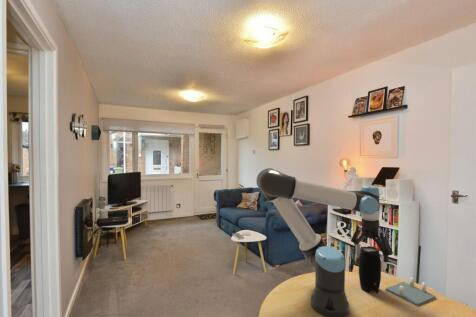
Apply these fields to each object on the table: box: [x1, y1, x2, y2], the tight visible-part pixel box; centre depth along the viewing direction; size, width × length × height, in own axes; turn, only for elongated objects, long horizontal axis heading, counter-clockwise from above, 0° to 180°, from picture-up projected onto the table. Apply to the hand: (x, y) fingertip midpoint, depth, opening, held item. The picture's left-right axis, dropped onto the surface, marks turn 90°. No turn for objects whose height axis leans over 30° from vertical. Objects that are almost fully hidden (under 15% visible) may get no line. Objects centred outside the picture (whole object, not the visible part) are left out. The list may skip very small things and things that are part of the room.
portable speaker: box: [358, 245, 382, 293], centre depth 119 cm, size 9×9×20 cm
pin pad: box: [385, 276, 437, 307], centre depth 115 cm, size 14×14×5 cm
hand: (370, 262), depth 119 cm, fingers open, 13 cm apart
